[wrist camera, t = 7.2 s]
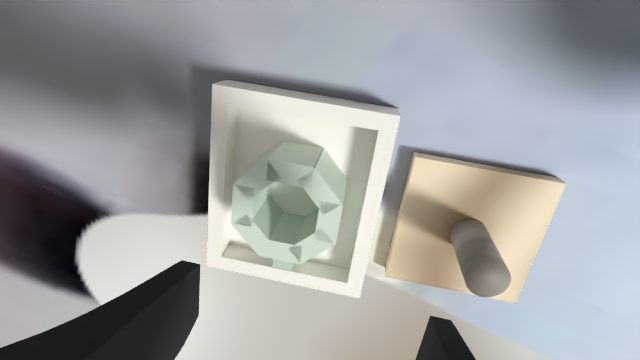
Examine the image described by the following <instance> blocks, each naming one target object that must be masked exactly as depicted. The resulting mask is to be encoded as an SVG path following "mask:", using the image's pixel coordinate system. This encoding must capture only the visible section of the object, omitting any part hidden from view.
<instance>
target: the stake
mask: <svg viewBox="0 0 640 360" xmlns="http://www.w3.org/2000/svg"><path fill="white" fill-rule="evenodd" d="M565 186H566V183H565V182H563V181H562V180H561V179H560V178H557V177H552V176H546V175H540V174H535V173H529V172H524V171H518V170H512V169H507V168H501V167H495V166H490V165H484V164H479V163H473V162H467V161H462V160H456V159H450V158H445V157H439V156H433V155H428V154H422V153H417V152H414V154H413V158H412V162H411V166H410V170H409V174H408V178H407V182H406V186H405V190H404V194H403V198H402V202H401V206H400V210H399V214H398V218H397V222H396V226H395V230H394V234H393V238H392V242H391V247H390V251H389V255H388V259H387V263H386V267H385V277H390V278H395V279H400V280H405V281H409V282H414V283H419V284H424V285H429V286H434V287H439V288H444V289H448V290H453V291H458V292H463V293H468V294H473V295H477V296H481V297H487V298H492V299H497V300H502V301H507V302H512V303H516V301H517V299H518V297H519V294H520V292H521V290H522V287H523V285H524V283H525V280H526V278H527V275H528V273H529V271H530V268H531V266H532V264H533V261H534V259H535V257H536V254H537V252H538V249H539V247H540V245H541V242H542V240H543V238H544V235H545V233H546V231H547V228H548V226H549V224H550V221H551V219H552V216H553V214H554V212H555V209H556V207H557V205H558V202H559V200H560V198H561V195H562V193H563V191H564V188H565Z"/></svg>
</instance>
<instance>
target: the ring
mask: <svg viewBox="0 0 640 360" xmlns="http://www.w3.org/2000/svg"><path fill="white" fill-rule="evenodd" d="M273 182H279V183H284V184H289V185H294V186H300V187H303V189H304V190H305V191H306V193H307V194H308V195H309V196H310V198H311V199H312V200H313V202H314V203H315V204H316V205H317V207H318V209H317V210H315V211H313V212H312V213H310V214H309V215H307V216H302V215H297V214H292V213H286V212H283V211H282V210H281V208H280V207H279V206H278V205H277V203H276V202H275V201H274V200H273V198H272V197H271V196H270V195H269V191H270V185H271V184H272V183H273ZM347 182H348V180H347V178H346V177H345V175H344V174H343V173H342V171H341V170H340V169H339V167H338V166H337V165H336V163H335V162H334V160H333V159H332V158H331V156H330V155H329V154H328V152H327V151H326V150H325V148H324V149H323V147H318V146H312V145H307V144H301V143H296V142H290V141H282V142H281V143H279V144H278V145H276V146H275V147H274V148H272V149H271V150H270V151H268V152H267V153H265V154H264V155H263V156H261V157H260V158H259V159H257V160H256V161H254V162H253V163H252V164H251V165H250V166H249V168H248V169H247V170H246V171H245V172H244V173H243V174H242V175H241V176H240V177H239V178H238V179H237V180H236V181H235V182H234V184H233V193H232V211H231V223H232V226H233V227H234V228H235V229H236V230H237V231H238V233H239V234H240V235H241V236H242V237H243V238H244V240H245V241H246V242H247V243H248V244H249V245H250V247H251V248H252V249H253V250H254V251H255V252H256V254H257V255H259V256H261V257H266V258H271V259H273V265H272V267H275V268H280V269H285V270H290V271H291V270H292V267H293V265H294V263H295V264H302V263H304V262H306V261H308V260H309V259H311V258H313V257H314V256H316V255H318V254H320V253H321V252H323V251H325V250H327V249H328V248H330V247H332V246H334V245H335V244H336V239H337V234H338V229H339V224H340V219H341V215H342V209H343V204H344V198H345V193H346V187H347Z"/></svg>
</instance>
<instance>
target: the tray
mask: <svg viewBox="0 0 640 360" xmlns="http://www.w3.org/2000/svg"><path fill="white" fill-rule="evenodd" d="M399 121H400V112H399V108H394V107H388V106H382V105H376V104H370V103H364V102H358V101H352V100H346V99H340V98H334V97H328V96H322V95H317V94H311V93H305V92H299V91H293V90H287V89H281V88H275V87H269V86H263V85H257V84H251V83H246V82H240V81H234V80H228V79H226V80H223V81H220V82H217V83H214V84H212V107H211V139H210V170H209V202H208V236H207V266H209V267H214V268H219V269H223V270H228V271H233V272H237V273H242V274H247V275H252V276H256V277H261V278H266V279H271V280H275V281H280V282H285V283H290V284H294V285H299V286H304V287H309V288H313V289H318V290H323V291H327V292H332V293H337V294H342V295H347V296H351V297H356V298H360V294H361V289H362V285H363V280H364V276H365V272H366V267H367V263H368V259H369V254H370V250H371V245H372V241H373V236H374V232H375V227H376V223H377V219H378V214H379V210H380V205H381V201H382V196H383V192H384V187H385V183H386V179H387V174H388V170H389V165H390V161H391V156H392V152H393V147H394V143H395V139H396V134H397V130H398V125H399ZM282 141H290V142H296V143H301V144H307V145H312V146H318V147H323V149H324V148H325V150H326V151H327V152H328V154H329V155H330V156H331V158H332V159H333V160H334V162H335V163H336V165H337V166H338V167H339V169H340V170H341V171H342V173H343V174H344V175H345V177H346V178H347V180H348V182H347V187H346V193H345V198H344V204H343V209H342V215H341V219H340V224H339V229H338V234H337V239H336V244H335V245H334V246H332V247H330V248H328V249H327V250H325V251H323V252H321V253H320V254H318V255H316V256H314V257H313V258H311V259H309V260H308V261H306V262H304V263H302V264H295V263H294V265H293V267H292V270H291V271H290V270H285V269H280V268H275V267H272V265H273V259H271V258H266V257H261V256H259V255H257V254H256V252H255V251H254V250H253V249H252V248H251V247H250V245H249V244H248V243H247V242H246V241H245V240H244V238H243V237H242V236H241V235H240V234H239V233H238V231H237V230H236V229H235V228H234V227H233V226H232V223H231V211H232V193H233V184H234V182H235V181H236V180H237V179H238V178H239V177H240V176H241V175H242V174H243V173H244V172H245V171H246V170H247V169H248V168H249V166H250V165H251V164H252V163H253V162H254V161H256V160H257V159H259V158H260V157H261V156H263V155H264V154H265V153H267V152H268V151H270V150H271V149H272V148H274V147H275V146H276V145H278V144H279V143H281V142H282ZM269 195H270V196H271V197H272V198H273V200H274V201H275V202H276V203H277V205H278V206H279V207H280V208H281V210H282V211H283V212H286V213H292V214H297V215H302V216H307V215H309V214H310V213H312V212H313V211H315V210H317V209H318V207H317V205H316V204H315V203H314V202H313V200H312V199H311V198H310V196H309V195H308V194H307V193H306V191H305V190H304V189H303V187H300V186H294V185H289V184H284V183H279V182H273V183H272V184H271V185H270V191H269Z"/></svg>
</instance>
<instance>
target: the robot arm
mask: <svg viewBox="0 0 640 360" xmlns="http://www.w3.org/2000/svg"><path fill="white" fill-rule="evenodd" d="M199 283H200V264H196V263H191V262H186V261H180V262H178V263H176V264H174V265H173V266H171V267H169V268H168V269H166V270H164V271H162V272H161V273H159V274H158V275H156V276H154V277H152V278H151V279H149V280H147V281H146V282H144V283H142V284H140V285H138V286H137V287H135V288H133V289H131V290H130V291H128V292H126V293H124V294H123V295H121V296H119V297H117V298H115V299H113V300H111V301H109V302H107V303H105V304H103V305H101V306H99V307H97V308H96V309H94V310H92V311H90V312H88V313H86V314H84V315H81V316H79V317H77V318H75V319H73V320H71V321H68V322H66V323H64V324H61V325H59V326H57V327H54V328H52V329H50V330H47V331H45V332H42V333H40V334H37V335H35V336H32V337H29V338H26V339H24V340H21V341H18V342H15V343H13V344H10V345H7V346H5V347H2V348H0V360H174V359H175V358H176V356H177V355H178V353H179V351H180V350H181V348H182V347H183V345H184V343H185V341H186V339H187V338H188V335H189V334H190V332H191V330H192V328H193V326H194V323H195V322H196V319H197V317H198V314H199ZM416 360H476V359H475V358H474V356H473V354H472V353H471V351H470V350H469V348H468V347H467V345H466V343H465V342H464V340H463V338H462V337H461V335H460V334H459V332H458V330H457V329H456V327H455V326H454V325H453V323H452V321H451V320H447V319H442V318H438V317H434V316H430V318H429V322H428V324H427V327H426V331H425V334H424V336H423V339H422V342H421V345H420V348H419V351H418V354H417V357H416Z"/></svg>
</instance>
